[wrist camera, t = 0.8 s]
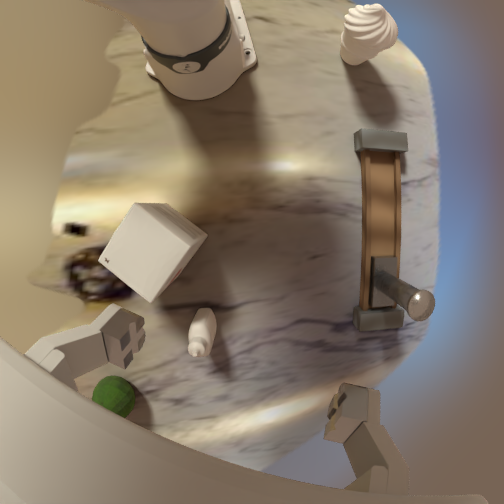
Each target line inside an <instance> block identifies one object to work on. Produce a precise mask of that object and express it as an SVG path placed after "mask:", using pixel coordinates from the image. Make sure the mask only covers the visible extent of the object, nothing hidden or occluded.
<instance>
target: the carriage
mask: <svg viewBox="0 0 504 504" xmlns="http://www.w3.org/2000/svg"><path fill="white" fill-rule="evenodd" d="M397 261H398V257H395V256H393V255H389V256H371V267H370V286H369V301H368V304H369V305H370V306H372V307H382V306H394V302H396V303H397V304H399V305H400V306H401V307H403V308H404V309H405V310H407V312H408V315H409V316H410V317H411V318H412V319H413V320H415V321H423V320H425V319H427V318H428V317H429V316H430V315H431V314H432V312H433V310H434V307H435V299H434V296H433V294H432V293H431V292H429V291H427V290H424V289H422V290H419V289H417V288H415V287H413V286H412V285H410V284H408V283H406V282H404V281H403V280H401V279H399V278H397Z"/></svg>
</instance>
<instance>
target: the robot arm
mask: <svg viewBox="0 0 504 504" xmlns="http://www.w3.org/2000/svg"><path fill="white" fill-rule="evenodd" d="M82 1H86V2H90V3H93V4H96V5H99V6H101V7H104V8H107V9H109V10H111V11H114V12H116V13H118V14H119V15H121V16H123V17H125V18H126V19H127V20H129V21H130V22H131V23H132V25H133V26H134V27H135V28H136V29H137V30H138V32H139V33H140V34H141V37H142V41H143V43H144V46H145V50H144V55H145V57H146V59H147V64H146V71H147V73H148V74H149V75H151V76H153V77H155V78H157V79H159V80H160V81H161V82H162V84H163V85H164V86H165V88H166V89H167V90H168V91H169V92H171V93H172V94H174V95H175V96H177V97H180V98H183V99H188V100H203V99H208V98H212V97H214V96H217V95H219V94H221V93H223V92H224V91H226V90H227V89H228V88H230V87H231V86H232V85H233V84H234V83H235V81H236V80H237V79H238V77H239V76H240V75H241V74H242V73H243V72H244V71H246V70H247V69H249V68H251V67H252V66H254V65H255V64H256V62H257V58H256V54H255V50H254V47H253V43H252V40H251V36H250V33H249V29H248V26H247V23H246V19H245V16H244V13H243V9H242V6H241V3H240V1H239V0H82ZM246 53H250V54H249V55H246ZM144 324H145V322H144V318H143V317H142V316H139V315H137V314H135V313H133V312H131V311H129V310H126V309H124V308H122V307H120V306H117V305H115V304H111V305H109V306H108V307H107V308H106V309H105V310H104V311H103V312H102V313H101V314H100V315H99V316H98V317H97V318H96V319H95V320H94V321H93V322H92V323H91V324H90V325H87V324H86V325H82V326H79V327H76V328H72V329H69V330H66V331H62V332H59V333H55V334H52V335H49V336H45V337H42V338H40V339H39V340H38V341H37V342H36V343H35V344H34V345H33V346H32V347H31V348H30V349H29V350H28V351H27V352H26V353H25V354H24V355H23V354H22V353H21V352H19V351H18V350H17V349H15V348H14V347H13V346H12V345H10V344H9V343H8V342H7V341H5V340H4V339H3V338H2V337H0V504H489V503H488V502H487V501H486V499H485V498H484V497H483V496H481V495H474V494H473V495H458V496H408V494H409V493H408V492H409V467H408V465H407V464H406V462H405V460H404V459H403V458H402V455H401V454H400V452H399V450H398V449H397V447H396V445H395V444H394V442H393V441H392V439H391V437H390V436H389V434H388V432H387V431H386V429H385V428H384V426H383V425H380V392H379V390H374V389H369V388H366V387H361V386H356V385H352V384H348V383H342V384H341V386H340V387H339V392H338V394H335V395H334V397H333V399H332V401H331V403H330V406H329V410H328V415H327V416H328V418H329V422H328V423H327V424H326V427H325V434H324V439H325V440H329V441H334V442H338V443H343V446H344V448H345V450H346V453H347V455H348V458H349V460H350V463H351V465H352V468H353V470H354V473H355V475H356V477H357V480H355V481H354V482H353V483H351V484H350V485H348V486H347V487H346V488H345V489H337V488H331V487H325V486H319V485H314V484H309V483H304V482H300V481H295V480H291V479H287V478H282V477H278V476H274V475H271V474H267V473H263V472H260V471H256V470H253V469H249V468H246V467H243V466H239V465H236V464H233V463H230V462H227V461H224V460H221V459H218V458H215V457H213V456H210V455H207V454H204V453H202V452H199V451H196V450H194V449H191V448H189V447H186V446H184V445H181V444H179V443H176V442H174V441H172V440H169V439H167V438H165V437H163V436H160V435H158V434H156V433H154V432H152V431H149V430H147V429H145V428H143V427H141V426H139V425H137V424H135V423H133V422H131V421H129V420H127V419H125V418H123V417H121V416H119V415H117V414H115V413H114V412H112V411H110V410H108V409H106V408H104V407H103V406H101V405H99V404H97V403H96V402H94V401H92V400H90V399H89V398H87V397H85V396H84V395H82V394H80V393H79V392H77V391H78V388H77V385H76V383H75V381H74V379H75V378H77V377H79V376H81V375H83V374H85V373H87V372H90V371H92V370H94V369H96V368H98V367H100V366H102V365H105V364H107V363H108V362H110V363H112V364H114V365H117V366H119V367H121V368H123V369H126V368H127V366H128V365H129V364H130V362H131V361H132V360H133V354H134V353H137V352H139V351H140V349H141V348H142V346H143V344H144V341H145V336H146V335H145V330H144V329H143V325H144Z"/></svg>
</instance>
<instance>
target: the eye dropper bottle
mask: <svg viewBox="0 0 504 504" xmlns="http://www.w3.org/2000/svg"><path fill="white" fill-rule="evenodd" d="M216 330H217V323H216V318H215V315H214V313H213V311H212V309H210V308H200V309H198V311H197V313H196V315H195V317H194V319H193V321H192V323H191V325H190V329H189V335H188V339H189V346H188V352H189V353H190V354H191V355H192V356H194V357H204V356H208V355H209V354H210V351H211V348H212V345H213V342H214V338H215V335H216Z"/></svg>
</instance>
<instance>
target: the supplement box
mask: <svg viewBox="0 0 504 504" xmlns="http://www.w3.org/2000/svg"><path fill="white" fill-rule="evenodd" d="M207 236H208V235H207V234H206V233H205V232H204V231H202V230H201V229H200V228H198V227H197V226H196V225H194V224H193V223H192V222H190V221H189V220H188V219H187V218H185V217H184V216H183V215H181V214H180V213H179V212H177V211H176V210H175V209H173V208H172V207H171V206H169V205H168V204H167V203H165V204H163V203H134V204H133V205H132V207H131V208H130V210H129V211H128V213H127V214H126V216H125V217H124V219H123V220H122V222H121V224H120V225H119V227H118V228H117V229H116V231H115V232H114V234H113V236H112V238H111V240H110V241H109V243H108V245H107V246H106V248H105V250H104V251H103V253H102V255H101V256H100V258H99V260H98V261H99V262H100V263H101V264H103V265H104V266H105V267H106V268H107V269H109V270H110V271H111V272H112V273H114V274H115V275H116V276H117V277H118V278H120V279H121V280H122V281H123V282H125V283H126V284H127V285H128V286H130V287H131V288H132V289H133V290H134V291H136V292H137V293H138V294H139V295H141V296H142V297H143V298H145V299H146V300H147V301H148V302H150V303H152V302H153V301H154V300H155V299H156V298H157V297H158V296H159V295H160V294H161V293H162V292H163V291H164V290H165V289H166V288H167V287H168V286H169V285H170V284H171V283H172V282H173V281H174V280H175V279H176V278H177V277H178V276H179V274H180V273H181V272H182V270H183V269H184V268H185V266H186V265H187V264H188V262H189V261H190V260H191V258H192V257H193V255H194V254H195V253H196V251H197V250H198V249H199V247H200V246H201V245H202V243H203V242H204V240H205V239H206V238H207Z"/></svg>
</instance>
